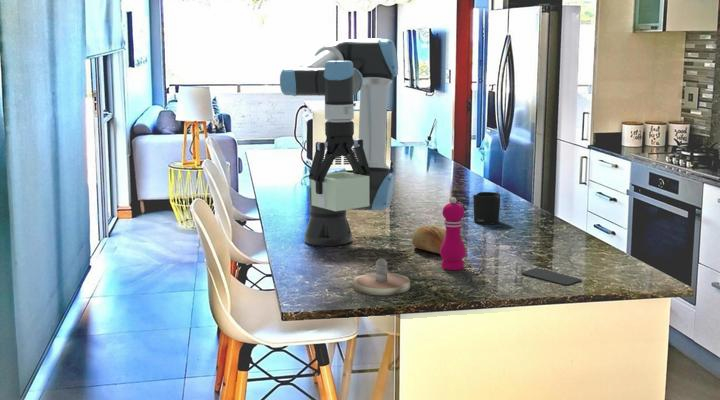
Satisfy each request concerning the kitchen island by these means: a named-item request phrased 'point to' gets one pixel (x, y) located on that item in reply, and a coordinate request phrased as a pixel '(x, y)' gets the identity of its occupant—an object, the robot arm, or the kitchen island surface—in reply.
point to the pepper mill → (453, 237)
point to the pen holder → (486, 207)
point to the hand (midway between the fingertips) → (340, 203)
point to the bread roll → (429, 238)
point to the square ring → (343, 191)
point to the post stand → (381, 281)
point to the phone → (551, 276)
